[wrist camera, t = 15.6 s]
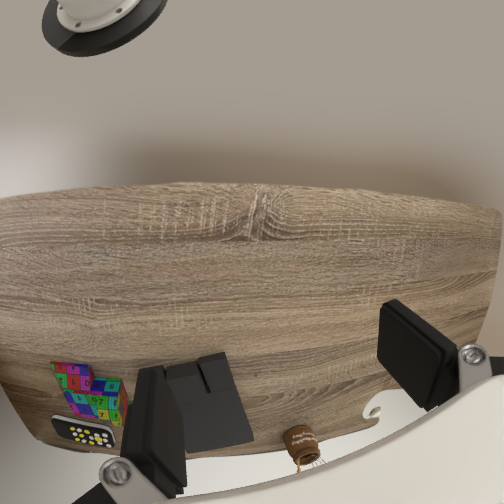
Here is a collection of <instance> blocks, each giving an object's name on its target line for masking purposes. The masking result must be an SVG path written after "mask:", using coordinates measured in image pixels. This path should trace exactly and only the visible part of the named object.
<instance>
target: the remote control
mask: <svg viewBox="0 0 504 504" xmlns="http://www.w3.org/2000/svg"><path fill="white" fill-rule="evenodd" d="M51 422H52V424H53V426H54V428H55V430H56V432H57V434H58V435H59V436H61V437H63V438H66V439H70V440H74V441H79V442H83V443H87V444H92V445H97V446H102V447H108V448H112V447H114V445H115V439H114V436H113V432H112V430H111V429H110V428H109V427H108V426H105V425H101V424H95V423H90V422H85V421H80V420H76V419H72V418H67V417H63V416H59V415H54V416H53V417H52V419H51Z"/></svg>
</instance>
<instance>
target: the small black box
mask: <svg viewBox="0 0 504 504" xmlns="http://www.w3.org/2000/svg"><path fill="white" fill-rule="evenodd" d="M166 381H167V383H168V385H169V387H170V389H171V391H172V393H173V395H174V397H175V398H176V400H177V402H178V403H183V402H189V401H194V400H200V399H205V398H207V389H206V383H205V381H204V379H203V376H202V374H201V371H200V369H199V366H198V364H197V361H194V362H189V363H185V364H180V365H175V366H169V367H167V374H166Z"/></svg>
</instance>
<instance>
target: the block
mask: <svg viewBox="0 0 504 504" xmlns="http://www.w3.org/2000/svg"><path fill="white" fill-rule="evenodd" d="M50 365H51V368H52V370H53V372H54V375H55V377H56V379H57V381H58V384H59V386H60V388H61V390H62V391H63V394H64V396H65V398H66V400H67V402H68V404H69V406H70V407H71V409H72V411H73V413H74V415H75V416H82V417H90V418H99V419H100V421H101V423H102V424H103V425H106V426H117V427H124V425H125V418H126V413H127V408H128V405H129V404H130V402H129V399H128V396H127V393H126V391H125V388H124V385H123V381H122V379H109V378H95V376H94V374H93V371H92V368H91V365H84V364H72V363H61V362H52V361H51V363H50Z"/></svg>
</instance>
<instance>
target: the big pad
mask: <svg viewBox="0 0 504 504" xmlns="http://www.w3.org/2000/svg"><path fill="white" fill-rule="evenodd" d="M199 365H200V367H201V370H202V372H203V375H204V377H205V379H206V382H207V384H208V387H206V389H207V398H205V399H200V400H194V401H189V402H183V403H178V402H177V400H176V398H175V397H174V395H173V393H172V391H171V389H170V387H169V385H168V383H167V381H166V374H167V373H166V371H165V369H164V367H163V365H161V366H155V367H150V368H144V369H139V371H140V370H145V369H151V368H153V369H154V370H155V371H159V372H160V374H161V376H162V378H163V380H164V382H165V384H166V385H167V387H168V389H169V391H170V393H171V395H172V397H173V399H174V400H175V402H176V404H177V406H178V408H179V409H180V411H181V413H182V416H183V420H184V443H185V450H186V452H187V453H195V452H201V451H208V450H213V449H219V448H224V447H229V446H234V445H239V444H243V443H247V442H252V441H254V437H253V434H252V431H251V428H250V426H249V423H248V420H247V417H246V415H245V412H244V409H243V406H242V403H241V400H240V397H239V395H238V392H237V389H236V386H235V383H234V380H233V377H232V374H231V371H230V368H229V365H228V361H227V358H226V355H225V352H222V353H218V354H214V355H209V356H205V357H200V358H199Z"/></svg>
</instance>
